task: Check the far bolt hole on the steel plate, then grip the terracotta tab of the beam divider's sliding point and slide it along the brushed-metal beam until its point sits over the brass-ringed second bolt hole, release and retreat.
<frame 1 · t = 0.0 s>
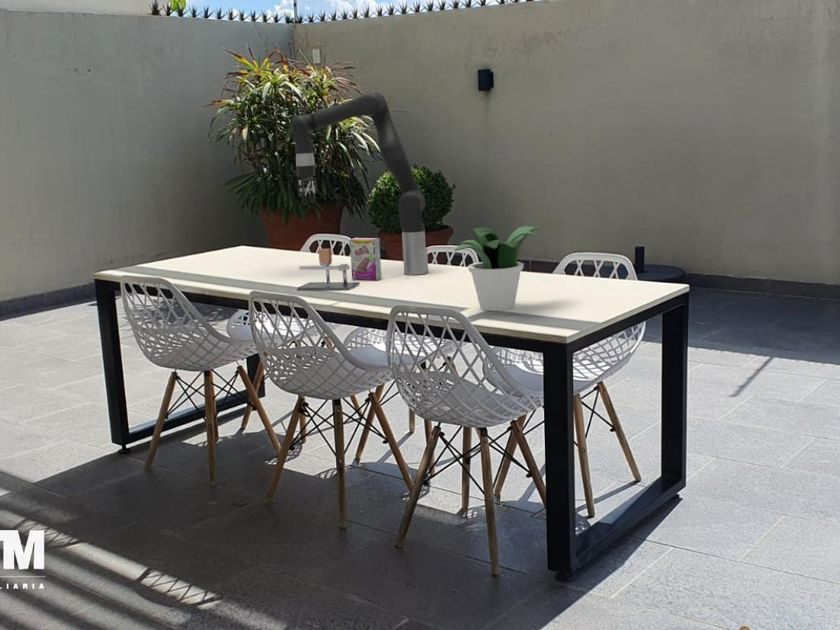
hand: (308, 203, 407), 29 cm above the table, fingers open, 8 cm apart
potted plant: (501, 306, 325), on the table
bolt plate: (328, 287, 377), on the table
candy bar box: (366, 279, 392), on the table
sliding point: (326, 266, 375), point 8 cm above the table, slide at 7.0 cm
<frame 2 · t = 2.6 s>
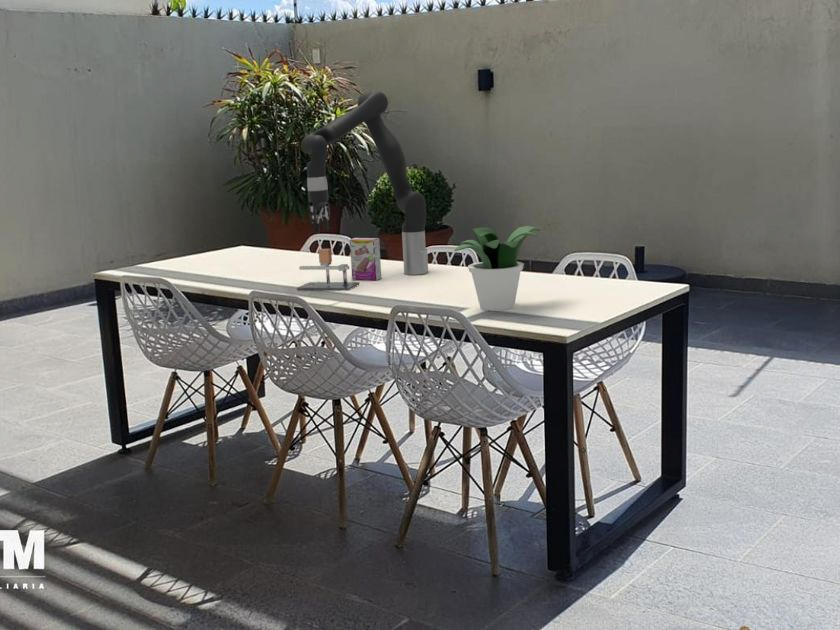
hand: (321, 231, 373), 22 cm above the table, fingers open, 8 cm apart
nothing on the table moved.
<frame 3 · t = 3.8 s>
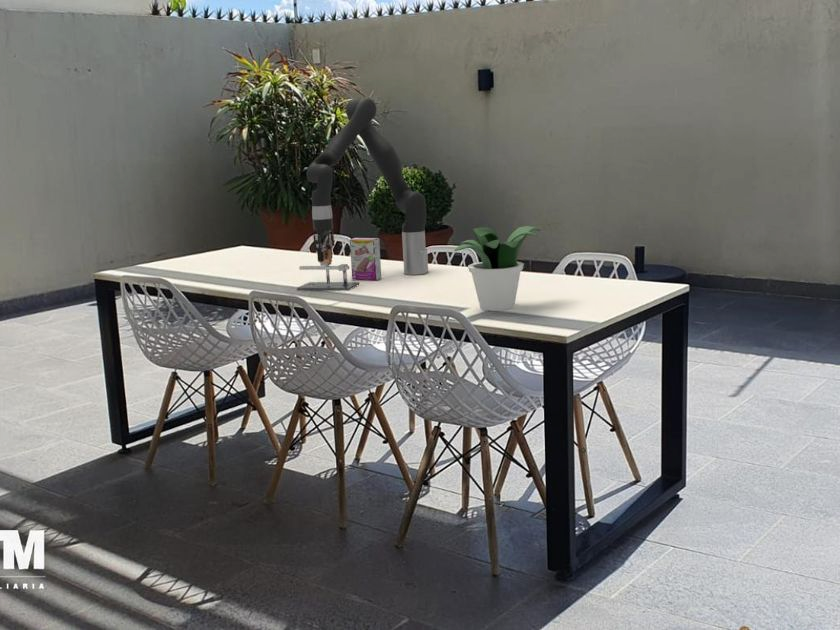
hand: (325, 259, 374), 11 cm above the table, fingers open, 8 cm apart
nothing on the table moved.
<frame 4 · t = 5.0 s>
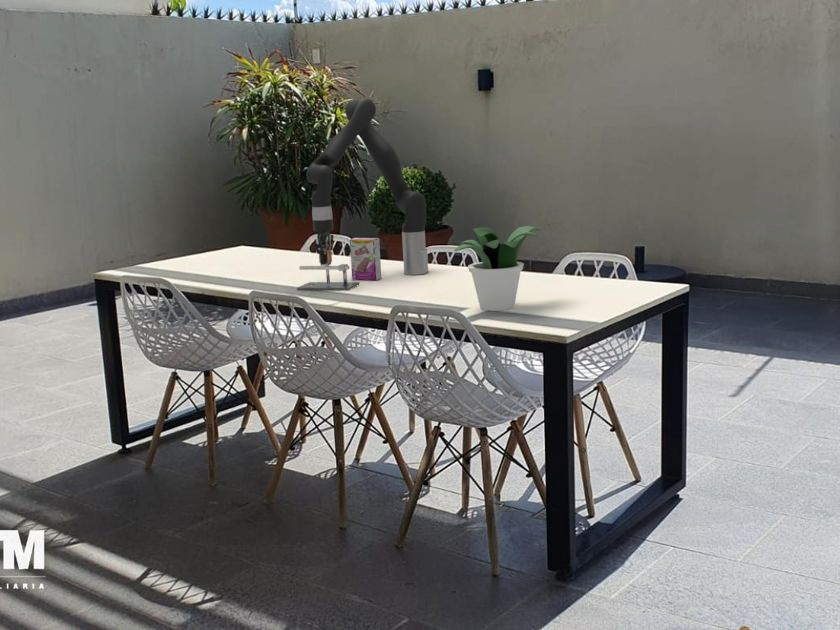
hand: (325, 263, 374), 10 cm above the table, fingers closed on sliding point, 3 cm apart
sliding point: (326, 266, 375), point 8 cm above the table, slide at 7.0 cm, touching gripper
everything else where it was.
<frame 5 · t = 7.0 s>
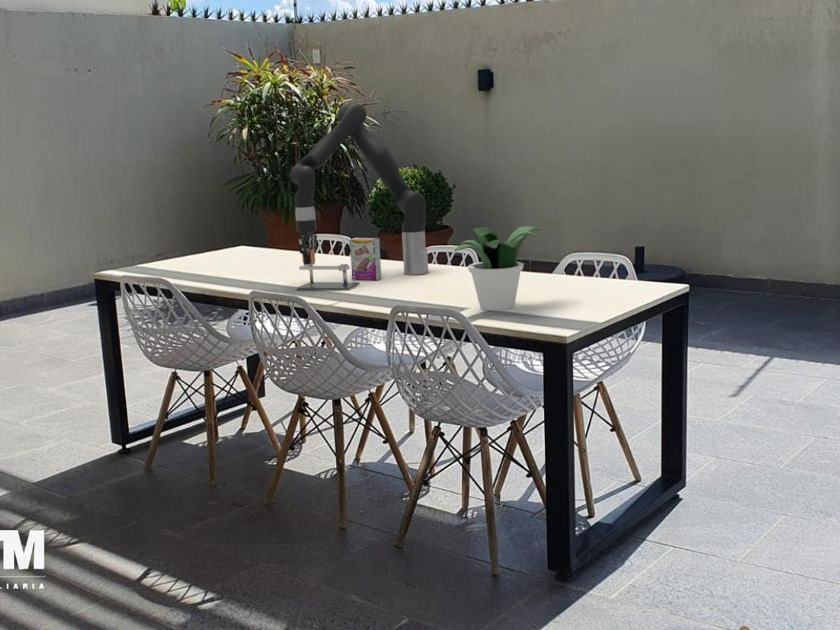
hand: (309, 263, 376), 10 cm above the table, fingers closed on sliding point, 3 cm apart
sliding point: (309, 266, 377), point 8 cm above the table, slide at 13.9 cm, touching gripper
everything else where it was.
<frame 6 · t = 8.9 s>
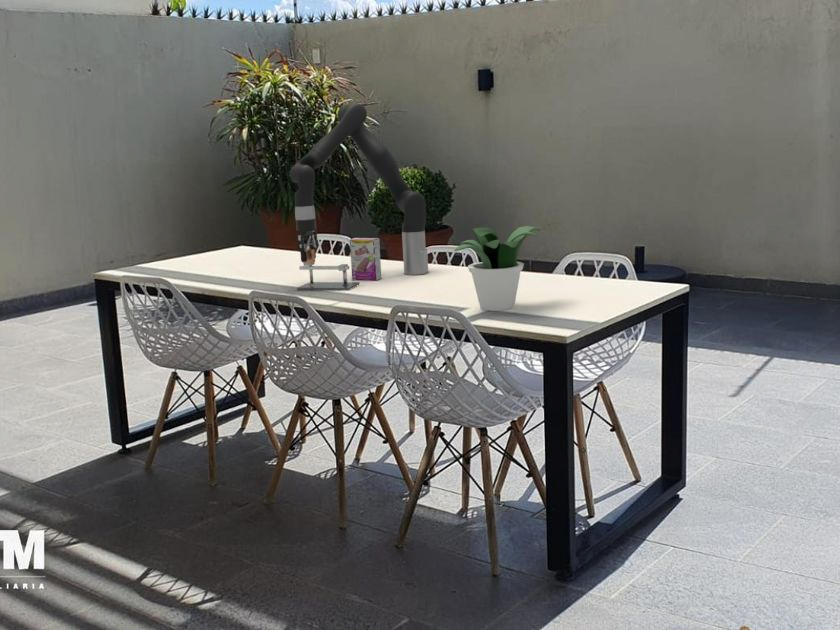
hand: (308, 260, 376), 11 cm above the table, fingers open, 8 cm apart
sliding point: (309, 266, 377), point 8 cm above the table, slide at 13.9 cm
everything else where it was.
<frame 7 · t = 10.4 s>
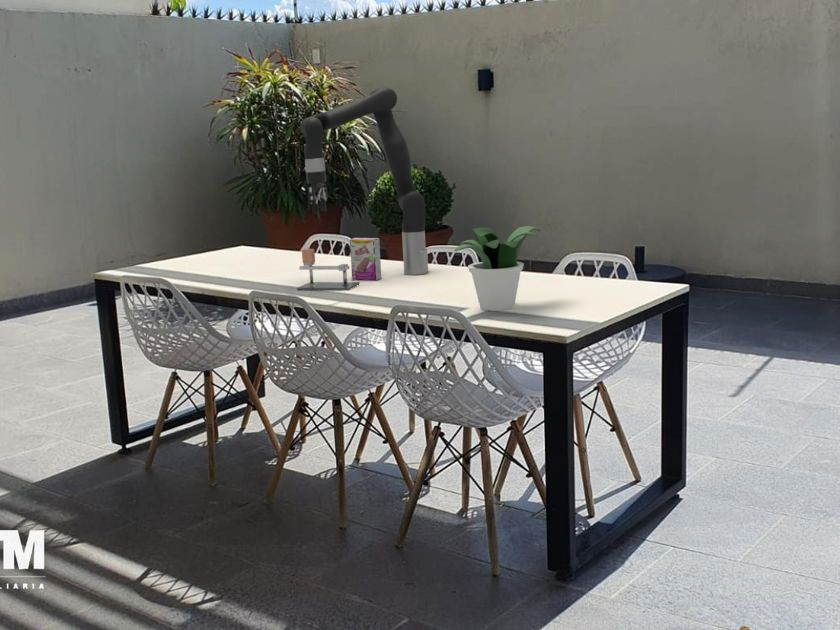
hand: (319, 212, 380), 28 cm above the table, fingers open, 8 cm apart
nothing on the table moved.
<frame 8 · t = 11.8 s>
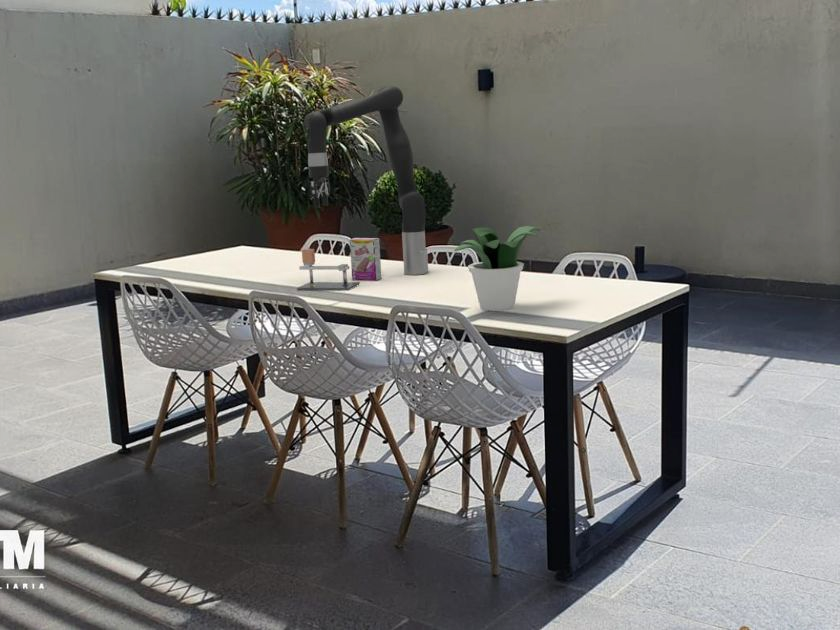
hand: (321, 206, 382), 30 cm above the table, fingers open, 8 cm apart
nothing on the table moved.
at the end: sliding point slide at 13.9 cm; the gripper is holding nothing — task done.
